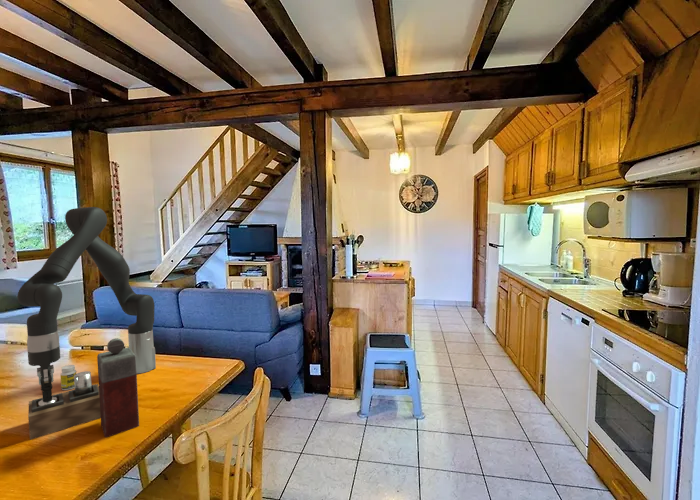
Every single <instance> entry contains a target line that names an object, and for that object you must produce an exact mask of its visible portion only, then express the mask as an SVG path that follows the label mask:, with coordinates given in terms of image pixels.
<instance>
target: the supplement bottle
mask: <svg viewBox="0 0 700 500" xmlns="http://www.w3.org/2000/svg"><path fill="white" fill-rule="evenodd" d="M75 368H76V366H75V365H74V364H68V365H65V366H62V367H61V372H60V387H61V390H62V391H71V390H74V389H75V384H74V375H75V374H77V370H76V369H75Z"/></svg>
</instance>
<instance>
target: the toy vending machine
mask: <svg viewBox="0 0 700 500" xmlns="http://www.w3.org/2000/svg"><path fill="white" fill-rule="evenodd" d="M106 345H107V346H106V347H107V350H108V351H105V352H100V353H98V354H97V357H96V358H97V359H96V361H97V374H98V375H97V376H98V386H99V397H100V414H101V418H100V426H101V429H102V432H103V435H104V438H108V437H111V436H114V435H117V434H119V433H120V434H121V433H123V432H126V431H128V430H132V429H134V428H138V427H140V416H139V396H138V394H139V393H138V376H137V375H138V374H137V371H136V356H135V354H134V353H133V352H132V350H131V349H130V348H129V347H125V342H124V341H123V340H122V339H121V338H118V337H117V338H112V339H111V340H108V342H107V344H106Z"/></svg>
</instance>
